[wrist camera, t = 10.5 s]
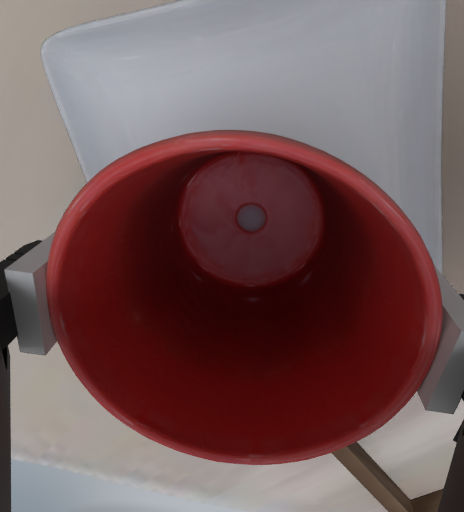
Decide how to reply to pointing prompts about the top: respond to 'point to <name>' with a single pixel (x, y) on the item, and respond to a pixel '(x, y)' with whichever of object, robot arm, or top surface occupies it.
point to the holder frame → (383, 483)
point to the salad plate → (267, 85)
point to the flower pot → (243, 297)
